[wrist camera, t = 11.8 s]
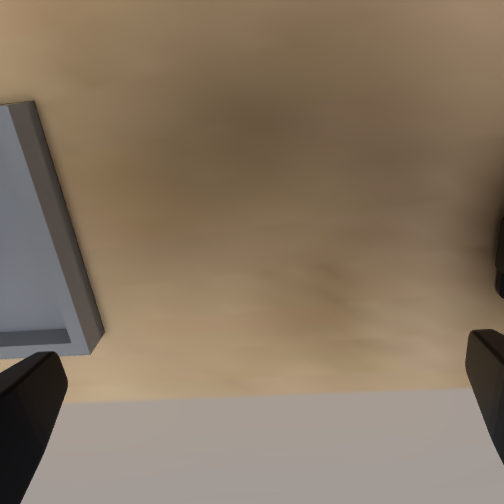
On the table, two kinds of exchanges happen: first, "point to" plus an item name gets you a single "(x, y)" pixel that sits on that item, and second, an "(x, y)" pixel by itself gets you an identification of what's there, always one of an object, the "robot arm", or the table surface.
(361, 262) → the table surface
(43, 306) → the tray
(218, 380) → the table surface
